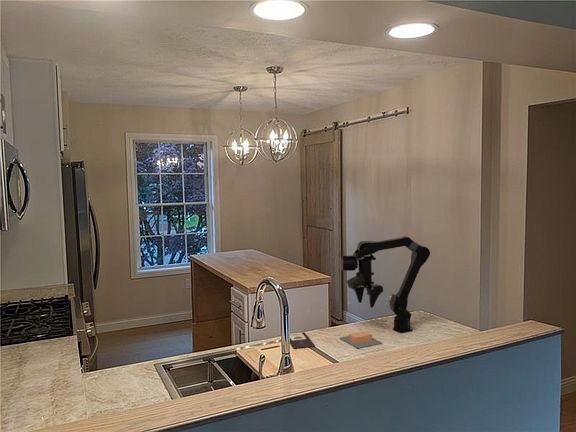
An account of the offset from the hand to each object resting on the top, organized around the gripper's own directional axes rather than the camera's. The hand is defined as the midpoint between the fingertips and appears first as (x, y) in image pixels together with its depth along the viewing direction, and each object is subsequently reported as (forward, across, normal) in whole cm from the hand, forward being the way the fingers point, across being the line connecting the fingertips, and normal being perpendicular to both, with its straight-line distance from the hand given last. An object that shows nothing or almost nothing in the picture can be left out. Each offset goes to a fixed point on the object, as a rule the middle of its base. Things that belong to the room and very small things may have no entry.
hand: (365, 305), depth 198 cm
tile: (+12, +9, -9) cm, 17 cm away
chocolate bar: (+13, -4, -31) cm, 34 cm away
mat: (+12, +9, -9) cm, 17 cm away
